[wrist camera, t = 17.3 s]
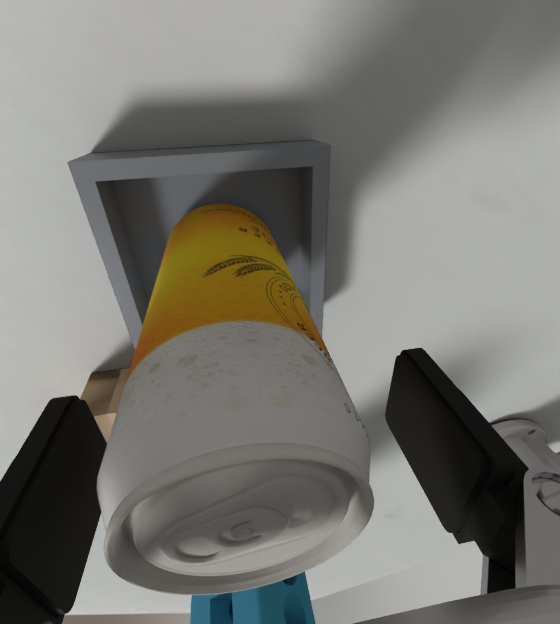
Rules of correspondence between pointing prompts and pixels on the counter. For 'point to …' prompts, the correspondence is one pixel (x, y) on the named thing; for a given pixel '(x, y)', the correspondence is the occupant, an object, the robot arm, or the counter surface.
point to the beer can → (230, 424)
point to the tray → (200, 192)
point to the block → (257, 605)
